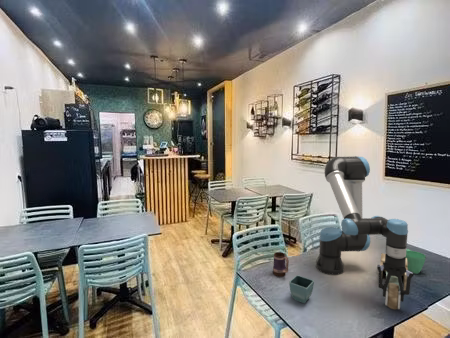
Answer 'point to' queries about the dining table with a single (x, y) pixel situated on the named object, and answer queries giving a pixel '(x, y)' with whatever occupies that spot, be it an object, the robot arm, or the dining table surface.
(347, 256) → the dining table surface
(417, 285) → the dining table surface
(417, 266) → the mug
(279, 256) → the mug
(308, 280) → the flower pot
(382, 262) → the tan wooden arch
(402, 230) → the robot arm
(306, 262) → the dining table surface
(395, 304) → the tethered block
